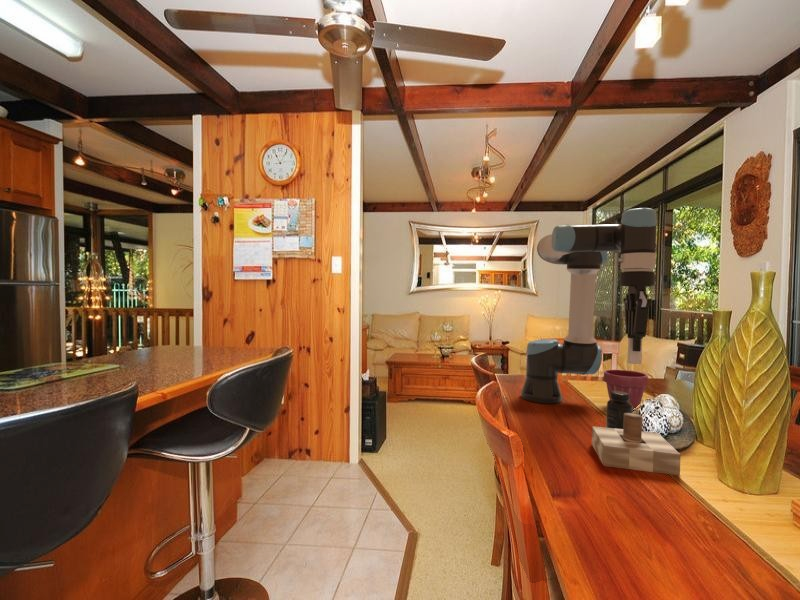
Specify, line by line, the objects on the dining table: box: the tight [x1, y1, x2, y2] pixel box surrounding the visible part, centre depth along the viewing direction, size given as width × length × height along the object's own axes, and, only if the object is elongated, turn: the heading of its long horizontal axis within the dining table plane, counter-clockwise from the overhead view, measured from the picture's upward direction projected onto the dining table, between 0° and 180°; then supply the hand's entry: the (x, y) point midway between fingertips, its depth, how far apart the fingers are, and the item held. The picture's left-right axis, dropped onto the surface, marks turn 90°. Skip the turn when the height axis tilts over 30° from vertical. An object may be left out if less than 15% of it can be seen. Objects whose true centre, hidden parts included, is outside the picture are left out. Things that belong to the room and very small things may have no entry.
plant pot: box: [603, 369, 649, 409], centre depth 141 cm, size 14×14×13 cm
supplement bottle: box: [605, 391, 634, 429], centre depth 116 cm, size 7×7×12 cm
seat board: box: [591, 426, 681, 476], centre depth 97 cm, size 14×16×5 cm
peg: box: [623, 412, 643, 443], centre depth 97 cm, size 4×4×11 cm
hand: (634, 363), depth 97 cm, fingers closed
